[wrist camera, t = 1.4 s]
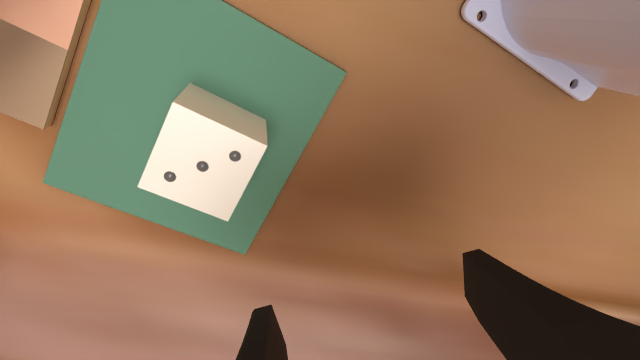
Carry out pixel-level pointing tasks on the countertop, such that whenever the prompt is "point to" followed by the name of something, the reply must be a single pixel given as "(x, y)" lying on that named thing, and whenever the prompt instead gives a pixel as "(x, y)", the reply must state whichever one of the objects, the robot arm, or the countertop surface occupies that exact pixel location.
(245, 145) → the die
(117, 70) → the dice mat
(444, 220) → the countertop surface
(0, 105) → the track
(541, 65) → the robot arm
